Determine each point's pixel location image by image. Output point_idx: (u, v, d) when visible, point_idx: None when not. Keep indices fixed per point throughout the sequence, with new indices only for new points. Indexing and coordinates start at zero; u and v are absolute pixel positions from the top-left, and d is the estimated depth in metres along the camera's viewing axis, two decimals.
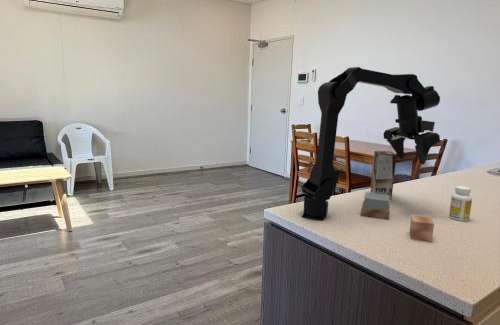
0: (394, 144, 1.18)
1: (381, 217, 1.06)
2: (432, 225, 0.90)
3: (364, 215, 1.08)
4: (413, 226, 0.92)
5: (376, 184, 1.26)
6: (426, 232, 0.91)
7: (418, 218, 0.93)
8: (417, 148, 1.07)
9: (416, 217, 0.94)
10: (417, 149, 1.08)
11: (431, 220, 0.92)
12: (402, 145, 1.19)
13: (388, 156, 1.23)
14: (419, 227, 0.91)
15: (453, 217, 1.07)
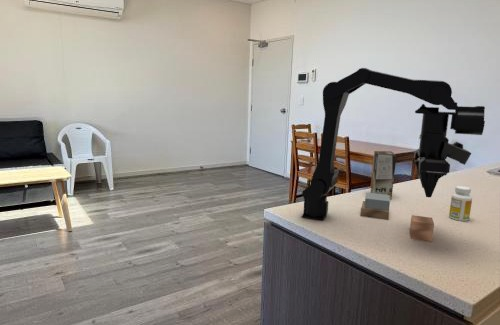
0: (418, 166, 0.96)
1: (381, 217, 1.06)
2: (432, 225, 0.90)
3: (364, 215, 1.08)
4: (413, 226, 0.92)
5: (376, 184, 1.26)
6: (426, 232, 0.91)
7: (418, 218, 0.93)
8: (419, 172, 0.86)
9: (416, 217, 0.94)
10: (419, 174, 0.86)
11: (431, 220, 0.92)
12: None
13: (388, 156, 1.23)
14: (419, 227, 0.91)
15: (453, 217, 1.07)
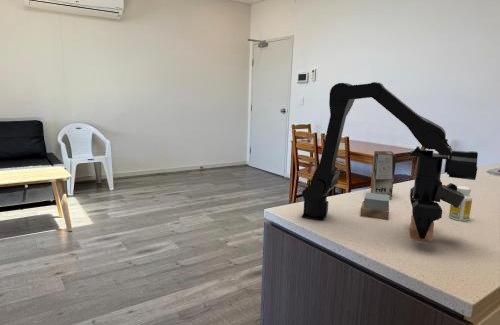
0: (413, 205, 0.98)
1: (380, 217, 1.06)
2: (432, 225, 0.90)
3: (363, 215, 1.08)
4: (413, 226, 0.92)
5: (376, 184, 1.26)
6: None
7: None
8: None
9: None
10: (413, 216, 0.88)
11: None
12: None
13: (388, 156, 1.23)
14: None
15: (453, 217, 1.07)
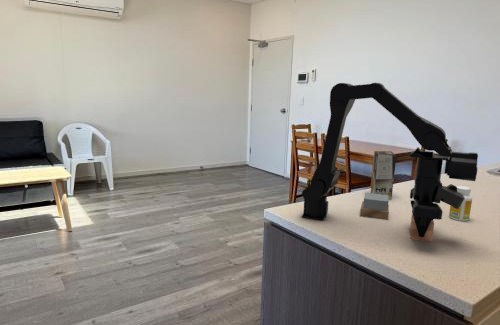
0: None
1: (380, 217, 1.06)
2: (432, 225, 0.90)
3: (363, 216, 1.08)
4: (413, 226, 0.91)
5: (376, 184, 1.26)
6: (426, 232, 0.91)
7: None
8: None
9: None
10: (413, 215, 0.90)
11: None
12: None
13: (388, 156, 1.23)
14: None
15: (453, 217, 1.07)
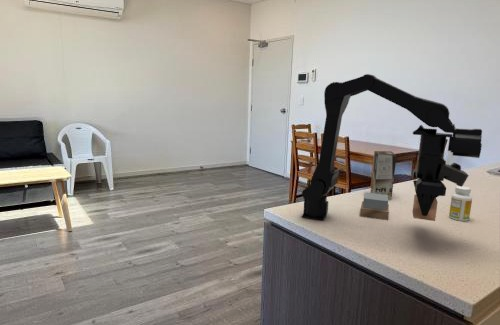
0: None
1: (380, 217, 1.06)
2: (435, 203, 0.89)
3: (363, 215, 1.08)
4: (416, 205, 0.90)
5: (376, 184, 1.26)
6: (429, 211, 0.89)
7: None
8: None
9: None
10: (416, 193, 0.89)
11: (434, 199, 0.91)
12: None
13: (388, 156, 1.23)
14: None
15: (453, 217, 1.07)
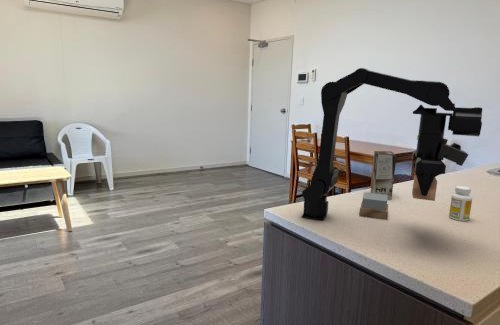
0: None
1: (380, 217, 1.06)
2: (435, 183, 0.88)
3: (363, 215, 1.08)
4: (416, 184, 0.90)
5: (376, 184, 1.26)
6: (429, 191, 0.89)
7: None
8: (415, 171, 0.88)
9: None
10: None
11: (434, 179, 0.90)
12: None
13: (388, 156, 1.23)
14: None
15: (453, 217, 1.07)
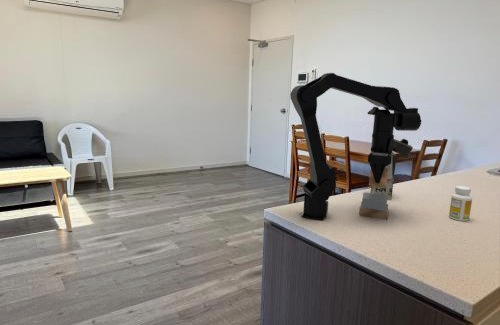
0: None
1: (379, 217, 1.06)
2: (386, 172, 1.05)
3: (362, 215, 1.08)
4: (371, 174, 1.07)
5: None
6: (381, 179, 1.06)
7: None
8: (369, 162, 1.05)
9: None
10: (369, 163, 1.05)
11: (386, 169, 1.07)
12: None
13: None
14: None
15: (453, 217, 1.07)
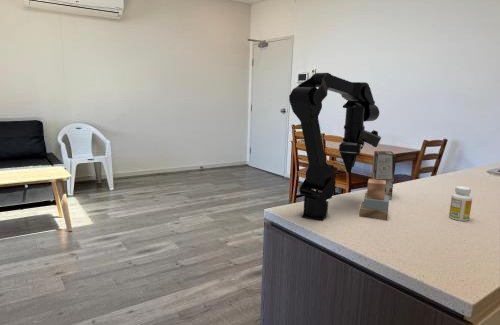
0: None
1: (380, 218, 1.06)
2: (384, 185, 1.06)
3: (362, 216, 1.08)
4: (368, 187, 1.07)
5: None
6: (379, 192, 1.06)
7: (373, 181, 1.09)
8: None
9: (371, 180, 1.10)
10: (341, 154, 1.12)
11: (384, 182, 1.08)
12: None
13: (388, 156, 1.23)
14: (373, 187, 1.07)
15: (453, 217, 1.07)
